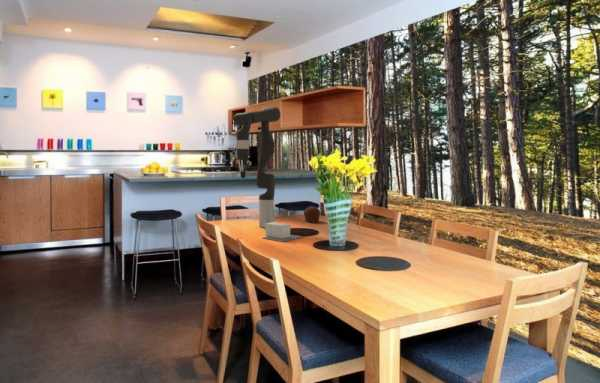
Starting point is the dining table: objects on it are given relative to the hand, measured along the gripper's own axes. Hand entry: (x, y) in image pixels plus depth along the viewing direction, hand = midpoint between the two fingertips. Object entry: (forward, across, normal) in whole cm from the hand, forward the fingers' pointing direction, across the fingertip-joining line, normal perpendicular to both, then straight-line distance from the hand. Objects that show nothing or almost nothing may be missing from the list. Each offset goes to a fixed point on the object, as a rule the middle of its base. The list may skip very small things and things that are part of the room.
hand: (242, 178), depth 281 cm
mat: (+32, -28, -3) cm, 43 cm away
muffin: (+32, -5, -59) cm, 67 cm away
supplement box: (+28, -19, -2) cm, 34 cm away
